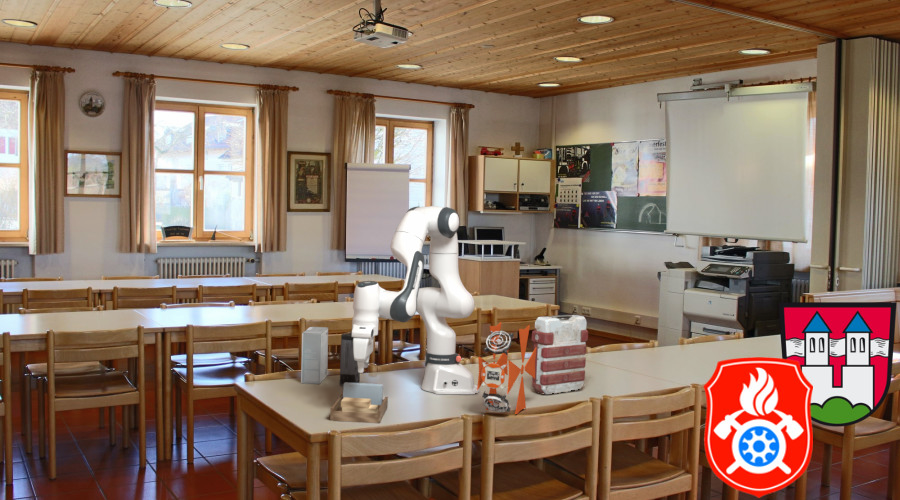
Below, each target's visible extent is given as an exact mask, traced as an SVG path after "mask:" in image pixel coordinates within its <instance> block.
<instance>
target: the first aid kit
mask: <svg viewBox="0 0 900 500" xmlns="http://www.w3.org/2000/svg"><path fill="white" fill-rule="evenodd" d="M587 323H588V322H587V319H586V317H585V316H584V315H578V314H559V315H550V316H538V317H537V318H536V320H535V322H534V330H532V331H531V332H532V333H531V341H532V342H533V351H534V350H535V348H536V347H537V348H536V358H535V379H534V378H533V377H532V376H531V377H532V380H531V383H532V384H531V387H532V388H533V389H534V391H535V392H536V393H538V392H539V393H538V394H540V393H544V394H543V395H551V394H552V393H554V394H557V393H558V392H565V391H569V392H572V391H571V390H575V391H578V390H577V389H580V390H581V388H582V387H583V385H584V384H585V383H584V381H585V379H586V371H585V368H586V362H587V361H586V360H587V359H586V353H587V343H586V342H587V341H588V340H589V331H588V330H587Z"/></svg>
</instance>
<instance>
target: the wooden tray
mask: <svg viewBox="0 0 900 500" xmlns="http://www.w3.org/2000/svg"><path fill="white" fill-rule="evenodd" d="M342 399H343V394H341V395H340V396H339V397H338V399H337V400H336V401H335V403H333V405H332V406H331V408H330V415H329V416H330V419H329V420H333V422H347V421H350V423H369V424H381V422H382V420H383V418H384V416H385V414H386V412H387V410H388V407H389V406H388V404H389V403H388V400H389V397H388V396H385V397H384V398H382V404H381V405H378V413H364V412H345V411H339V410H340V409H342V407H341V400H342Z"/></svg>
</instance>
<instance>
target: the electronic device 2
mask: <svg viewBox="0 0 900 500" xmlns="http://www.w3.org/2000/svg"><path fill="white" fill-rule="evenodd" d="M501 326H502V321H500V322H499V323H498V324H496V325H489V333H490V334H489V335H488V336H487V338H486V341H485V343H486V344H485V345H486V347H484V348H483V349H484V352H485V353H486V354H488V352H489V353H490V352H491V354H492V359H493V360H494V361H493V362H490V363H489V362H488V361H486V360H485V359H483V358H482V357H480V356H478V375H477V376H478V378H477V391H478V389H479V390H480V387H481V388H482V387H484V386H487V387H488V388H489V391H488V392H489V393H486V390H483V391H484V392H483V393H482V398H483V399H484V400H483V405H484V406H485V407H486V409H485V411H486V410H487V411H489V410H490V411H492V412H496V413H504V412H507V413H510V411H511V406H510V403H509V400H508V399H507V395H509V393H510V391H511V390H512V388H513V387H514V384H515V383H516V381H517V378H518V377H519V376H520V375H522V376H521V378H520V383H519V388H518V389H519V390H518V395H517V401H516V405H515V407H516V408H515V412H514V415H515V414H517V415H518V414H519V413H520V412H521V411H522V409H524V408H526V409H527V404H526V394H525V384H524V376H523V374H524V371H525V372H526V373H527V374H528V375H530V376H531V377H533V378H534V379H535V358H536V348H537V347H536V348H535V350H534V349H533V351H532V353H531V355H530V357H529V358H528V360H527V361H526V364H525V365H524V362H525V356H526V349H527V347H528V346H527V345H528V337H529V332H530V326H531V325H530V324H529V325H527V326H526V327H525V328H518V334H519V344H520V346H519V347H520V354H521V363H522V364H521V367H519V366H517V364H515V363H514V362H513V361H511V360H510V359H508V357H509V349H510V347H511V346H512V339H513V338H514V333H513V332H512V333H508V332H506V331H504V330H501V328H502V327H501ZM504 336H505V341H504V338H503V337H504ZM508 339H509V340H508ZM490 341H491V342H490ZM489 345H490V346H491V347H489ZM502 347H503V348H502ZM498 354H501V355H500V356H499V358H498V359H497V361H495V360H496V356H497V355H498ZM506 376H508V380H507V386H504V385H503V384H504V383H505V379H506ZM498 388H500V389H502V390H505V388H507V389H506V391H507V393H505V394H504V395H501V394H499V393H497V389H498ZM488 409H489V410H488ZM524 410H525V409H524Z"/></svg>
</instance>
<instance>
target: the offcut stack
mask: <svg viewBox="0 0 900 500" xmlns="http://www.w3.org/2000/svg"><path fill="white" fill-rule="evenodd" d="M341 407H342V409H340V410H339V411H345V412H364V413H378V405H371V399H366V398H347V397H344V398H343V399H342V400H341Z"/></svg>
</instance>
